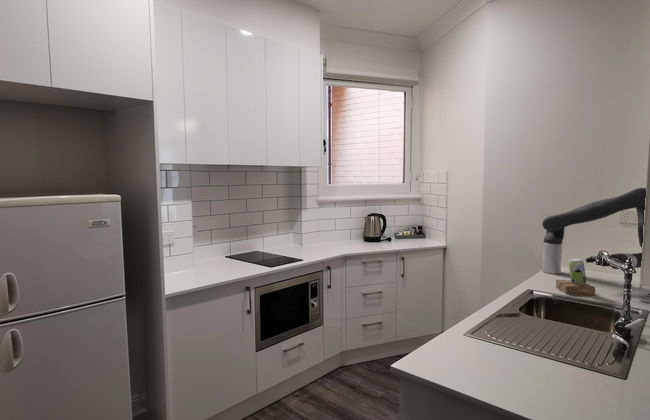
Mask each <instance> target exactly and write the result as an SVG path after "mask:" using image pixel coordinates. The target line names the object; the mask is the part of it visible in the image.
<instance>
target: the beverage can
mask: <svg viewBox="0 0 650 420" xmlns="http://www.w3.org/2000/svg"><path fill="white" fill-rule="evenodd" d="M568 265H569V266H568V267H569V275H570V280H571V282H572V283H573V284H576V285H582V284H585V283H587V278H586V270H585V263H584V261H583V259H582V258H571V259H569V261H568Z"/></svg>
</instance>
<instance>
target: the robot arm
mask: <svg viewBox="0 0 650 420" xmlns="http://www.w3.org/2000/svg"><path fill="white" fill-rule="evenodd" d="M645 198H646V187H638V188H635V189H632V190H631V191H628V192H626V193H624V194H621V195H617V196H615V197H610V198H606V199H605V198H604V199H601V200H597V201H594V202H589V203H587V204H584V205H582V206H579V207H576V208H573V209H572V210H569V211H566V212H563V213H558V214H554V215H548V216H546V217H545V218H544V219H543V221H542V222H541V223H542V224H541V225H542V227H543V229H544V230H546V232H545V233H546V234H545V236H544V238H543V251H542V272H543V273H545V274H552V275H558V274H559V275H560V274H561V273H562V258H563V257H562V255H563V240H564V238H565V237H564V236H565V228H567V227H569V226H573V225H578V224H584V223H590V222H593V221H597V220H601V219H604V218H606V217H609V216H612V215H614V214H617V213H618V212H622V211H626V210H630V209H635V210H636V214H637V237H638V242H639V247H640V248H642V243H643V225H644V210H645ZM642 253H643V252H638V253H628V252H627V253H626V252H624V253H612V254H610V255H609V256H610V257H611V258H612V259H613V260H614V261H616V262H618V263H621V264H623V265H625V263H626V260H627V259H628V258H631V259H632V265H633V267H634V268H633V269H637V268H642V267H641V261H642ZM596 258H597V256H594V255H593V256H589V257H586V258H585V263H587V264H588V263H589V264H590V263H595V262H596ZM595 264H596V263H595ZM601 267H609V268H611V269H614V270H620V269H619V268H617V267H615V266H612V265H610V264H609V263H607V261H606V260H605V259H604V258H603V265H602V266H601Z"/></svg>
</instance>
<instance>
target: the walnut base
mask: <svg viewBox="0 0 650 420" xmlns="http://www.w3.org/2000/svg"><path fill="white" fill-rule="evenodd" d="M555 289H557V290H559V291H560V292H561V293H563V294H565V295H567V296H568V295H569V296H586V297H587V296H590V297H595V296H596V287H595V286H594V285H591V284H590V283H588V282H586V283H585V284H582V285H576V284H573V283H572V282H571V279H570V280H569V279H556V280H555Z"/></svg>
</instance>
